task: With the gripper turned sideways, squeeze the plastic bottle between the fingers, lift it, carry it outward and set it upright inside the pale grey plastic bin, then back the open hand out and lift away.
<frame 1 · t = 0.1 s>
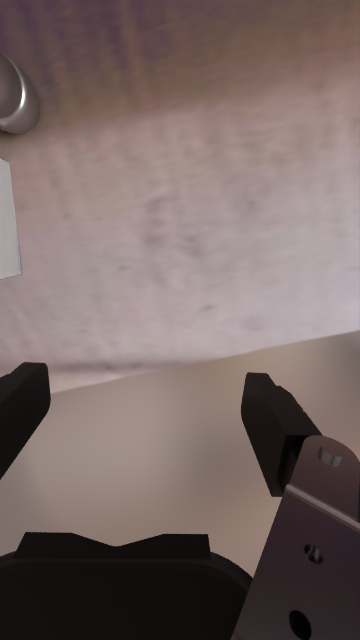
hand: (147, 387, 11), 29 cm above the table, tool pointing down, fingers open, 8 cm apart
plastic bottle: (20, 108, 32), on the table
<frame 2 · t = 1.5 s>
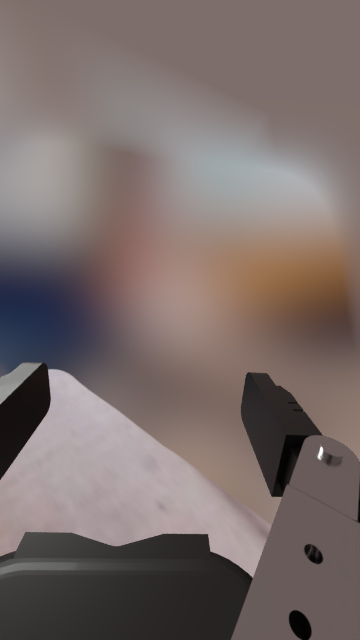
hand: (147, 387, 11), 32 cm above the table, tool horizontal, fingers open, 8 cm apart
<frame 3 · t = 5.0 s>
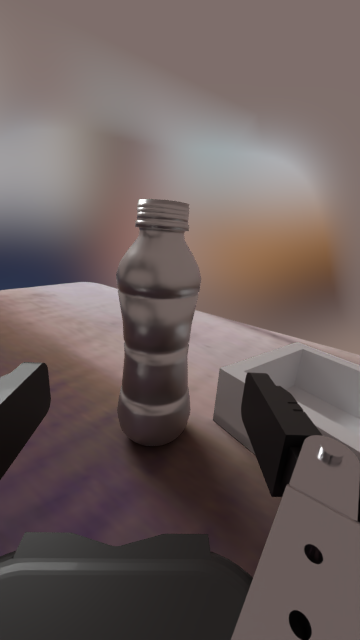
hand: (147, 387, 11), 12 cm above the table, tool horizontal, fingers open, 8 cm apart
bin: (312, 435, 26), on the table
plastic bottle: (152, 431, 25), on the table
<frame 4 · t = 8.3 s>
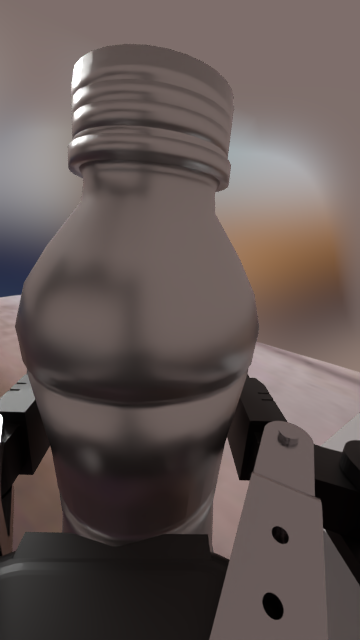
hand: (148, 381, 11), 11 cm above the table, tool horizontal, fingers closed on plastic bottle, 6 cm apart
plastic bottle: (137, 619, 12), on the table, touching gripper
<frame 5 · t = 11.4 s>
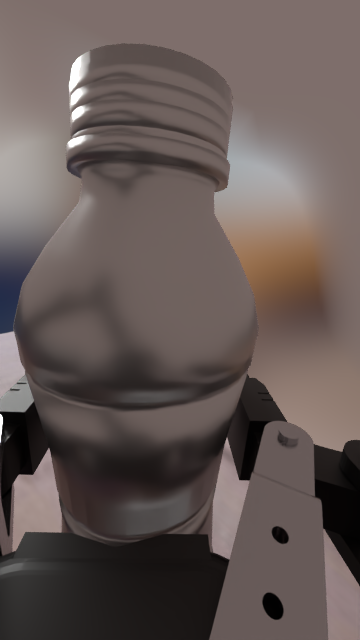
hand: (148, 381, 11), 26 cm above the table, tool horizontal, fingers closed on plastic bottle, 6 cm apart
plastic bottle: (137, 620, 12), point 15 cm above the table, touching gripper
when the fingers open (13 cm above the table, at t = 14.6 s): plastic bottle drops 1 cm, resting on bin.
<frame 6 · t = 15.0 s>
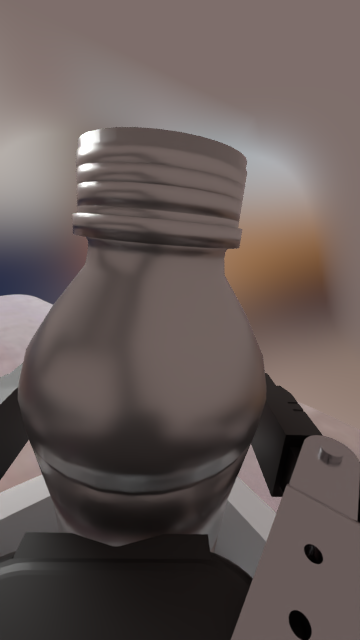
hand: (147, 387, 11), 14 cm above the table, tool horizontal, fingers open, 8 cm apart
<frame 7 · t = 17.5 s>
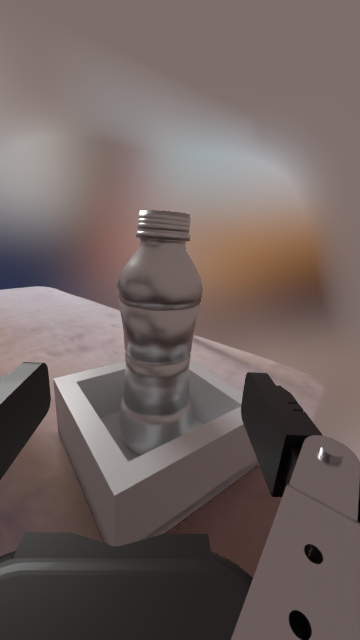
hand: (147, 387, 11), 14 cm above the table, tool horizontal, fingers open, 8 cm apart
bin: (153, 446, 25), on the table
plastic bottle: (154, 442, 25), point 1 cm above the table, touching bin
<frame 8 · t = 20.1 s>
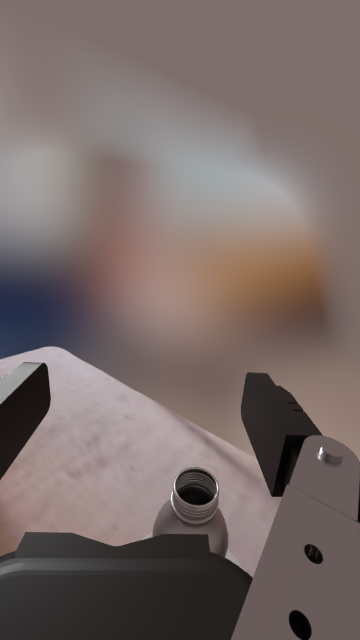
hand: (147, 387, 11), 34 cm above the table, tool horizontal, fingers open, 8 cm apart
plastic bottle: (180, 633, 27), point 1 cm above the table, touching bin
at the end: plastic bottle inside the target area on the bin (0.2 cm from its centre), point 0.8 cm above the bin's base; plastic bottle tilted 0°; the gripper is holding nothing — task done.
